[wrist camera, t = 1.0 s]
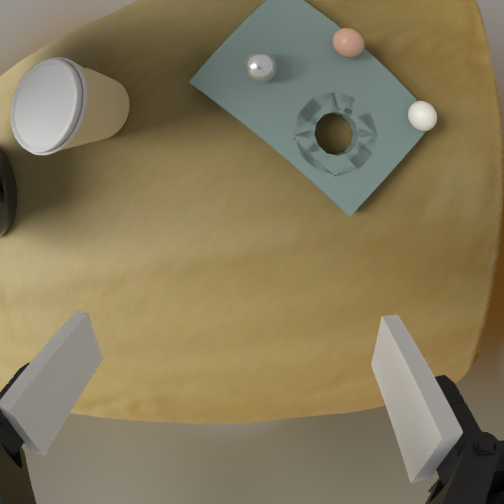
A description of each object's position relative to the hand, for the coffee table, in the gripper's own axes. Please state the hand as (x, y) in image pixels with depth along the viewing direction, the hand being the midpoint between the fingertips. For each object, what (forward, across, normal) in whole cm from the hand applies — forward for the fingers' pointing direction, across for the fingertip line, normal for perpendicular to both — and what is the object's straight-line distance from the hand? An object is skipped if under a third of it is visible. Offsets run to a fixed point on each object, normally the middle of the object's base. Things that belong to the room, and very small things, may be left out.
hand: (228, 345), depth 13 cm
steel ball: (+20, +1, +15) cm, 25 cm away
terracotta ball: (+20, +10, +18) cm, 29 cm away
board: (+24, +7, +13) cm, 28 cm away
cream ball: (+20, +18, +11) cm, 29 cm away
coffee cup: (+24, -18, +14) cm, 33 cm away
